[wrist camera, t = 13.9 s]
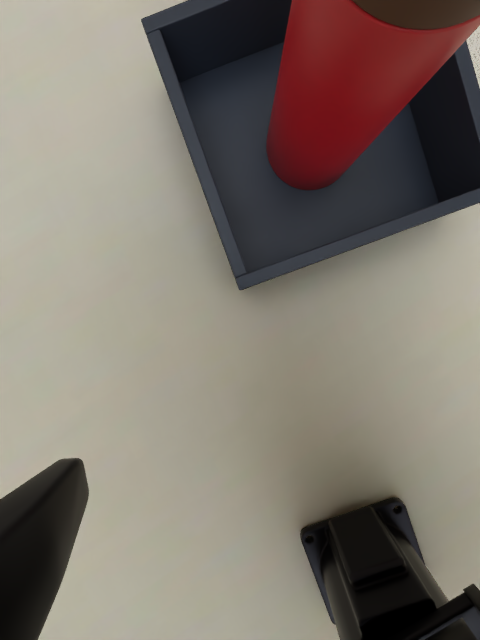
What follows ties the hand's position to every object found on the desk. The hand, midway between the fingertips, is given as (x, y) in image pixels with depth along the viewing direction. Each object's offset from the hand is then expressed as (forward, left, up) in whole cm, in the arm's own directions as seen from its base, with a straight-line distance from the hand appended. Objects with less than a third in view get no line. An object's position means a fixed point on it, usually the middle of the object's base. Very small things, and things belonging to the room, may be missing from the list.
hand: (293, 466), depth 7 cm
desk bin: (+10, -6, -13) cm, 17 cm away
